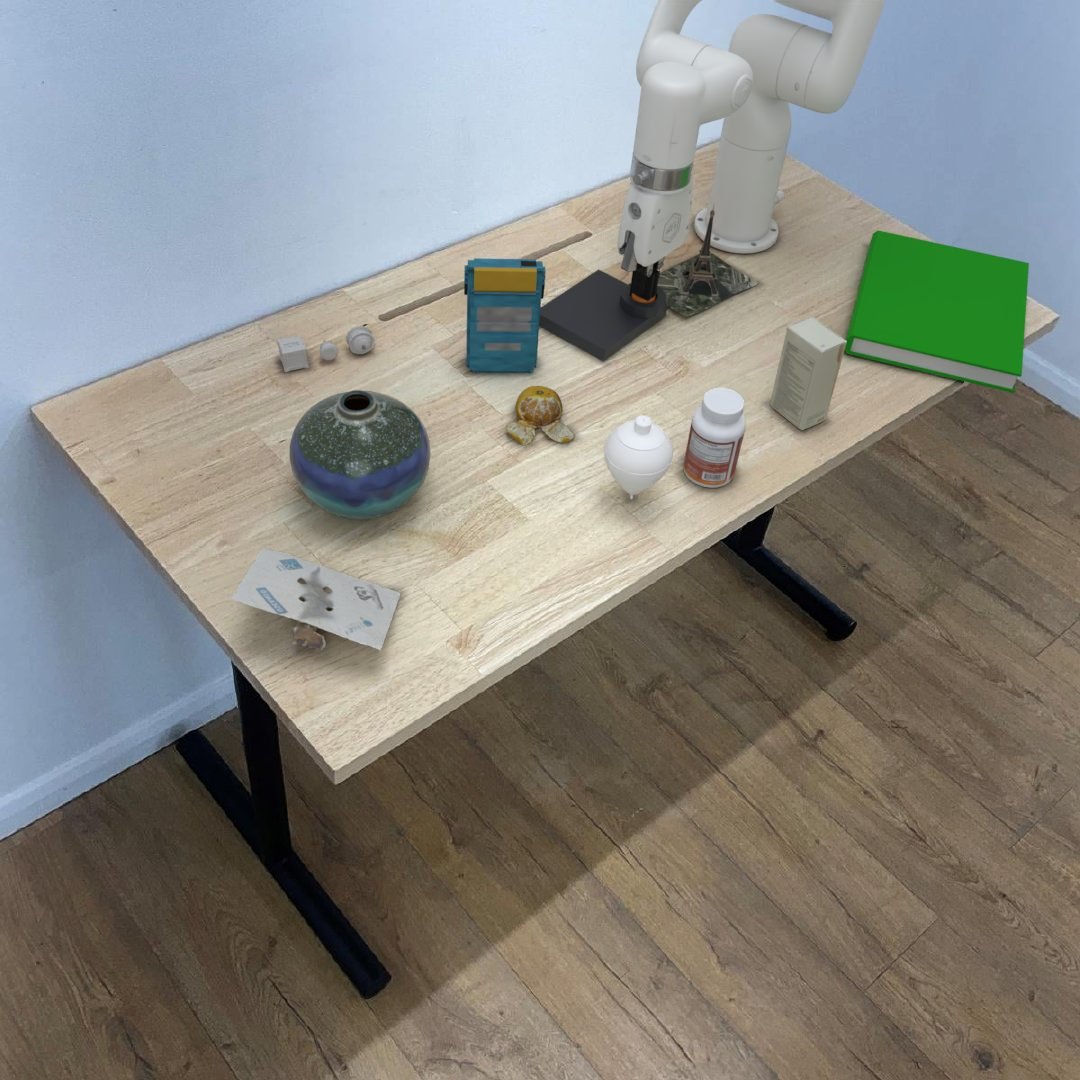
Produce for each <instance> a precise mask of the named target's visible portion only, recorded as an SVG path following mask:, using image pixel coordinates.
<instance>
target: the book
mask: <svg viewBox="0 0 1080 1080" xmlns="http://www.w3.org/2000/svg"><path fill="white" fill-rule="evenodd" d="M868 245H869V246H868V249H867V254H866V257H865V262H864V266H863V270H862V274H861V278H860V282H859V285H858V290H857V293H856V298H855V302H854V306H853V309H852V314H851V318H850V323H849V325H848V330H847V334H846V339H845V340H846V341H847V343H846V346H845V350H844V352H845V354H847V355H851V356H855V357H858V358H862V359H863V358H864V359H866V360H867V359H868V360H872V361H876V362H881V363H885V364H889V365H893V366H897V367H902V368H906V369H910V370H914V371H919V372H922V373H927V374H931V375H935V376H940V377H944V378H948V379H952V380H955V381H961V382H965V383H969V384H974V385H978V386H980V387H981V386H982V387H986V388H990V389H995V390H999V391H1003V392H1008V393H1010V394H1014V393H1015V389H1016V382H1017V379H1018V378H1019V377H1022V375H1023V365H1024V364H1023V362H1024V347H1025V331H1026V330H1025V329H1026V315H1027V301H1028V300H1027V299H1028V285H1029V283H1028V282H1029V268H1030V262H1027V261H1023V260H1017V259H1013V258H1009V257H1003V256H999V255H994V254H990V253H984V252H980V251H975V250H971V249H966V248H962V247H957V246H952V245H948V244H944V243H938V242H934V241H929V240H925V239H920V238H916V237H911V236H907V235H902V234H898V233H893V232H888V231H883V230H876V231H875V232H873V233H872V235H871V238H870V242H869V244H868Z"/></svg>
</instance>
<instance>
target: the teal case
mask: <svg viewBox="0 0 1080 1080" xmlns="http://www.w3.org/2000/svg"><path fill="white" fill-rule="evenodd" d="M546 271H547V270H546V266H544V263H543V261H540V260H537V259H531V258H483V257H482V258H477V257H476V258H474V257H473V259H467V264H465V265H464V272H463V273H464V275H463V276H464V277H463V279H464V284H463V288H464V289H463V290H464V291H463V292H464V293H463V294H464V296H466V345H465V346H466V347H465V348H466V351H465V352H466V354H465V356H466V360H465V362H466V364H465V365H466V367H467V368H469V371H472V373H491V374H492V373H498V374H499V373H503V374H504V373H505V374H531V373H532V372H534V371H535V368H537V363H538V347H539V336H540V335H539V333H540V326H539V320H540V308H541V307H542V306H541V304H542V300H544V298H545V297H544V296H545V286H546V273H547V272H546Z"/></svg>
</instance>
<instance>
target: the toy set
mask: <svg viewBox="0 0 1080 1080" xmlns="http://www.w3.org/2000/svg"><path fill="white" fill-rule="evenodd" d="M345 336H346V337H345V342H346V344H347V345H348V348H349V350H350V351H351V352H352V353H353V354H356V355H365V354H367V353H368V352H370V351H371V350H372V349H373V348H374V345H375V337H374V335H373V333H372V331H371V330H370V329H369V328H368V327H366V326H365V325H364V326H363V325H358V326H354V327H353V328H350V330H349V331H348V332H347V334H346V335H345ZM276 343H277V346H278V352H279V355H278V358H279V360H280V362H281V364H282V367H283V371H284V374H285V373H290V372H291V371H296V370H301V369H309V368H310V365H309V362H308V356H307V355H308V354H307V353H308V349H307V346H305V344H304V343H305V342H303V338H302V335H301V334H297V335H296V336H291V337H285V338H277V339H276ZM338 354H339V348H338V346H337V344H336V345H335V343H333V342H332V341H330V340H323V341H322V343H321V344H320V346H319V355H320V357H321V359H323V360H326V361H331V360H333V359H335V358H336V357H338Z"/></svg>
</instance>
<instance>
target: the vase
mask: <svg viewBox="0 0 1080 1080" xmlns="http://www.w3.org/2000/svg"><path fill="white" fill-rule="evenodd" d="M431 454H432V453H431V441H430V438H429V435H428V432H427V429H426V426H425V425H424V423H423V422H422V420H421V418H420V417H419V416H418V414H417V413H415V411H414V410H413V409H412V408H411V407H409V406H408V405H407V404H405V403H404V402H403V401H401V400H400V399H397V398H395V397H394V396H391V395H389V394H385V393H382V392H378V391H373V390H362V389H361V390H360V389H354V390H349V391H344V392H343V391H342V392H339V393H336V394H333V395H330V396H328V397H326V398H323V399H321V400H320V401H318V402H317V403H315V404H314V405H312V406H311V407H310V408H309V409H307V411H306V412H304V414H303V415H302V416H301V417H300V418H299V420H298V422H297V423H296V425H295V427H294V429H293V432H292V435H291V438H290V442H289V463H290V468H291V470H292V474H293V477H294V479H295V481H296V483H297V485H298V486H299V488H300V489H301V491H302V492H303V493H304V495H305V496H306V498H308V499H309V500H310V501H311V502H312V503H313V504H315V505H316V506H317V507H319V508H321V509H322V510H324V511H325V512H328V513H329V514H332V515H334V516H337V517H342V518H347V519H353V520H368V519H375V518H379V517H383V516H386V515H388V514H391V513H393V512H396V511H398V510H399V509H400V508H402V507H403V506H404V505H406V504H407V503H408V502H409V501H411V500H412V499H413V497H415V495H416V494H417V492H418V491H419V490H420V488H421V487H422V485H423V484H424V482H425V480H426V477H427V475H428V471H429V469H430V463H431V462H430V461H431Z"/></svg>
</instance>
